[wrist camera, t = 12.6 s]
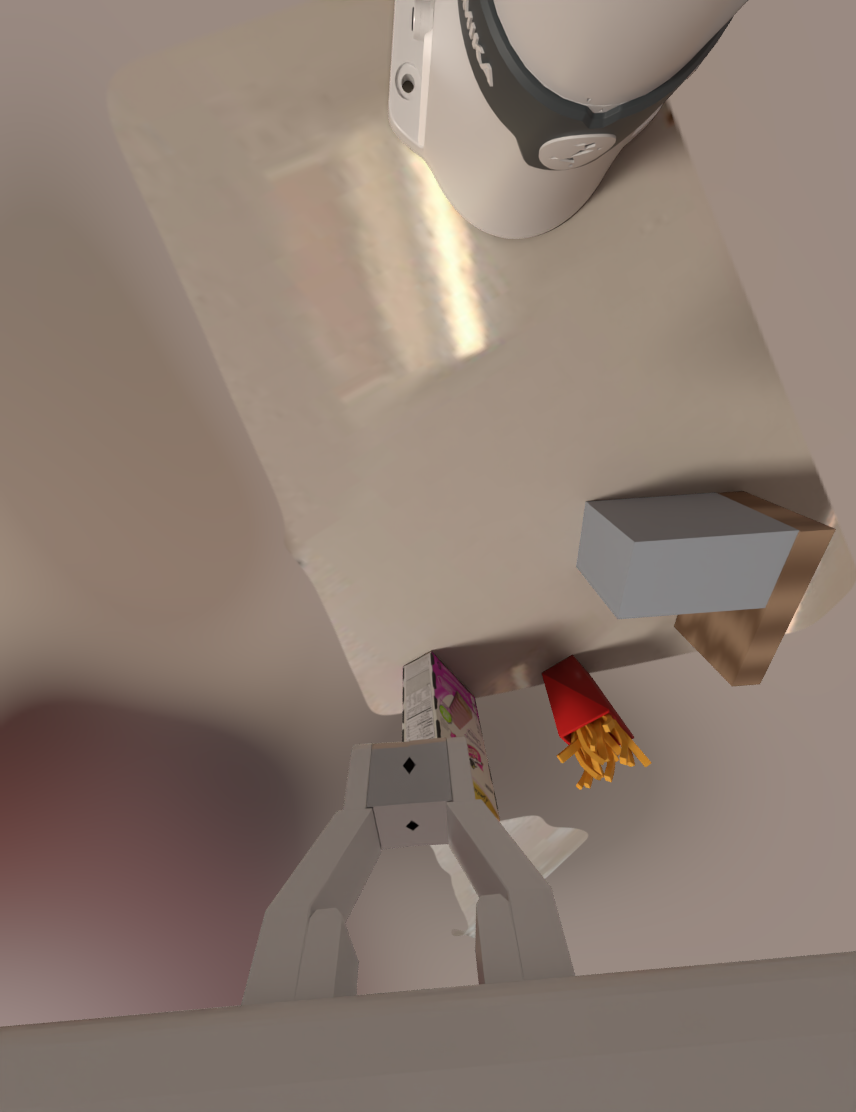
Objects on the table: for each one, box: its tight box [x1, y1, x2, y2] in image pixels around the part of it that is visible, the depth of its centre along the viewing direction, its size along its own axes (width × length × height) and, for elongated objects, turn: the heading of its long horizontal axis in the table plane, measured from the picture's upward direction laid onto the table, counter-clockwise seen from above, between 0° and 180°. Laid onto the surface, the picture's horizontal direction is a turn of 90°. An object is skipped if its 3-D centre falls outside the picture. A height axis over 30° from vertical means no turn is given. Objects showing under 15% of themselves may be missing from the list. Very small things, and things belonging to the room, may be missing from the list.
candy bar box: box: [402, 651, 500, 821], centre depth 45 cm, size 11×5×16 cm, turn 35°
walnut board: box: [674, 491, 836, 686], centre depth 41 cm, size 18×3×10 cm, turn 3°
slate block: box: [576, 492, 799, 619], centre depth 38 cm, size 8×14×10 cm, turn 93°
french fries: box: [542, 655, 651, 790], centre depth 46 cm, size 9×8×15 cm
